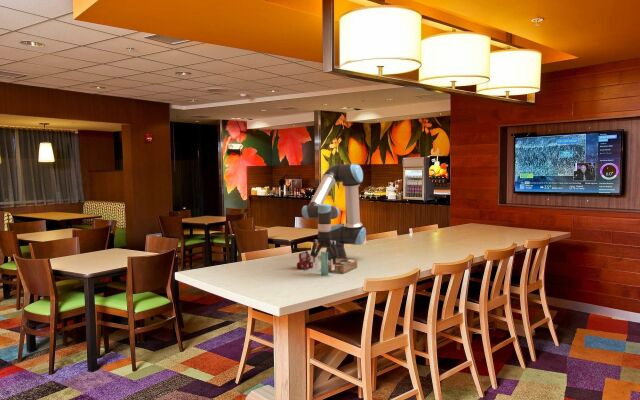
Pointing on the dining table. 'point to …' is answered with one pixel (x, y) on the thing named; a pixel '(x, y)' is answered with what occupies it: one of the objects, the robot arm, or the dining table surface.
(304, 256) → the dark red rounded figure
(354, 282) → the dining table surface
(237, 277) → the dining table surface
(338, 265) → the socket board
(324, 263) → the plug
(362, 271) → the dining table surface
